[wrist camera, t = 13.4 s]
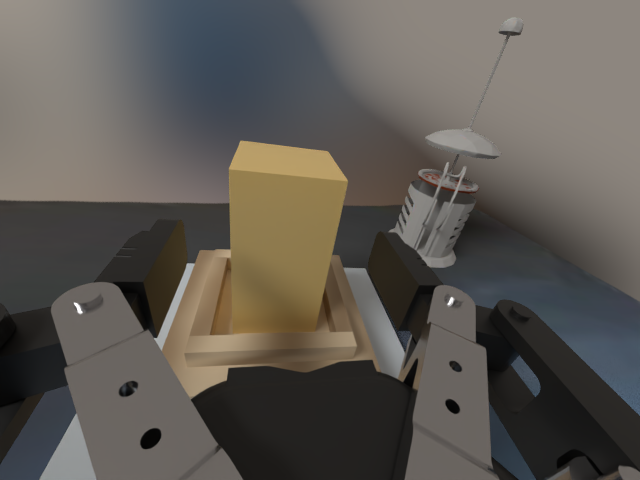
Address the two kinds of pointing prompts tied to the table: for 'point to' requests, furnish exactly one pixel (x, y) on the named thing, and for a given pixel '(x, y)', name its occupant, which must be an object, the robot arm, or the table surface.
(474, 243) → the table surface
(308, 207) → the ochre pillar
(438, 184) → the french press
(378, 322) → the white rectangular board
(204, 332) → the beech base slab
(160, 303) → the robot arm
